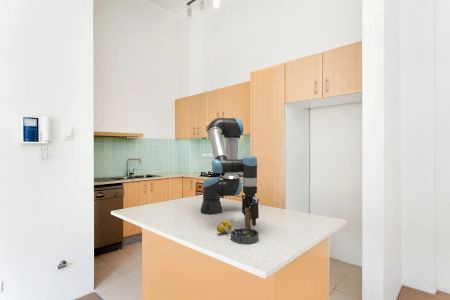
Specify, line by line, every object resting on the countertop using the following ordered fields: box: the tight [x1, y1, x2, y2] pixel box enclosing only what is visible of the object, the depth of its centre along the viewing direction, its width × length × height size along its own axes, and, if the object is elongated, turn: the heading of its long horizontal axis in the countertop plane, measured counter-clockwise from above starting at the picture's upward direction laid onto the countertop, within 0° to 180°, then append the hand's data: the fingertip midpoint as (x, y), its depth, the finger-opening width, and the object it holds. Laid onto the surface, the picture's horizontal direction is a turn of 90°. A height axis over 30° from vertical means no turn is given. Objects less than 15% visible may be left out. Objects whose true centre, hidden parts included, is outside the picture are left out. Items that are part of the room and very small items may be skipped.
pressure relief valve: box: [216, 220, 237, 236], centre depth 124 cm, size 6×12×10 cm
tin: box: [230, 227, 260, 245], centre depth 117 cm, size 13×13×3 cm
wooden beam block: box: [245, 207, 251, 229], centre depth 129 cm, size 4×4×12 cm
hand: (249, 229), depth 129 cm, fingers open, 6 cm apart
